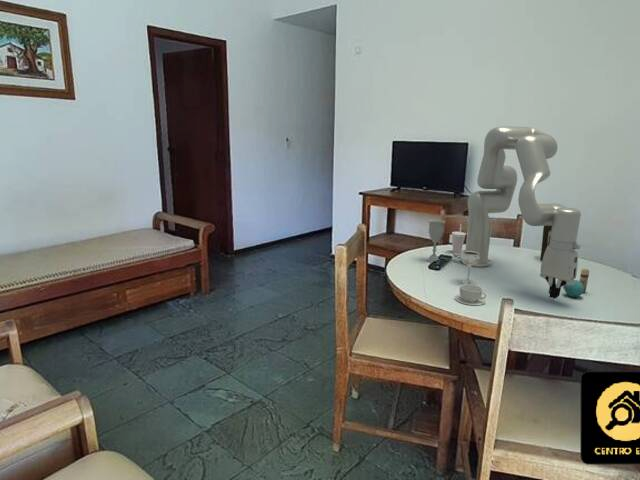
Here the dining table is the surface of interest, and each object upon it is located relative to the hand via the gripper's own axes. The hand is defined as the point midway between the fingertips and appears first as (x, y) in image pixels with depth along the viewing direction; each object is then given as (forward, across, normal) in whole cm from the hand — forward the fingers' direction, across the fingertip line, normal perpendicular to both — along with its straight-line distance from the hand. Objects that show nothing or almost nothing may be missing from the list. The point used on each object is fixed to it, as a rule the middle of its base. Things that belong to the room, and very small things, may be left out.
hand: (553, 297), depth 145 cm
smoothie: (+2, +54, -25) cm, 60 cm away
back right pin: (+2, -2, -17) cm, 18 cm away
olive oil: (+2, +21, -48) cm, 52 cm away
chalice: (+2, +53, -5) cm, 53 cm away
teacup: (+2, +18, +22) cm, 29 cm away
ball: (-2, -2, -10) cm, 11 cm away
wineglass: (+2, +28, +7) cm, 29 cm away
